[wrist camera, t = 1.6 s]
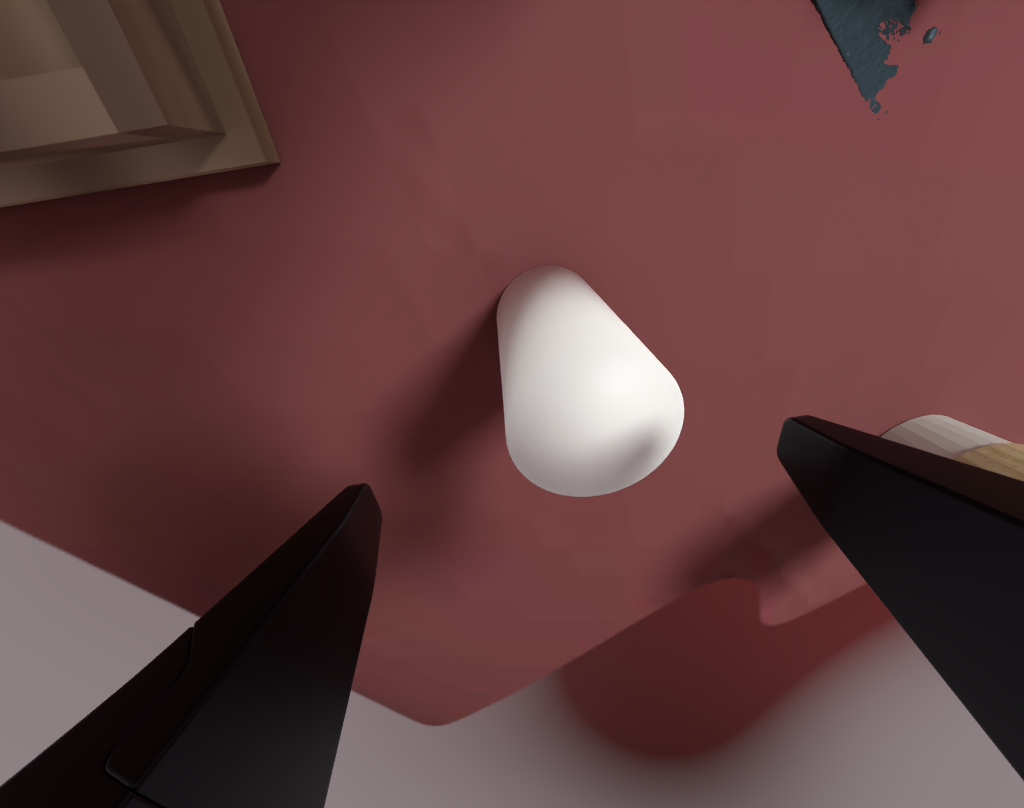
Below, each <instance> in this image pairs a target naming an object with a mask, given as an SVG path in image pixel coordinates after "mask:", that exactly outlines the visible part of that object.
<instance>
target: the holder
mask: <svg viewBox="0 0 1024 808" xmlns="http://www.w3.org/2000/svg"><path fill="white" fill-rule="evenodd" d="M275 163H281V161H280V159H279V156H278V154H277V151H276V148H275V146H274V143H273V140H272V138H271V135H270V132H269V130H268V127H267V124H266V122H265V119H264V116H263V114H262V111H261V109H260V106H259V103H258V101H257V98H256V95H255V93H254V90H253V87H252V85H251V82H250V79H249V77H248V74H247V71H246V69H245V66H244V64H243V61H242V58H241V56H240V53H239V50H238V48H237V45H236V42H235V40H234V37H233V34H232V32H231V29H230V27H229V24H228V21H227V19H226V16H225V13H224V11H223V8H222V5H221V3H220V0H0V208H2V207H8V206H14V205H20V204H26V203H33V202H39V201H45V200H51V199H58V198H64V197H70V196H76V195H82V194H89V193H95V192H101V191H107V190H113V189H120V188H126V187H132V186H138V185H145V184H151V183H157V182H163V181H169V180H176V179H182V178H188V177H194V176H200V175H207V174H213V173H219V172H225V171H232V170H238V169H244V168H250V167H256V166H263V165H269V164H275Z"/></svg>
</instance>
